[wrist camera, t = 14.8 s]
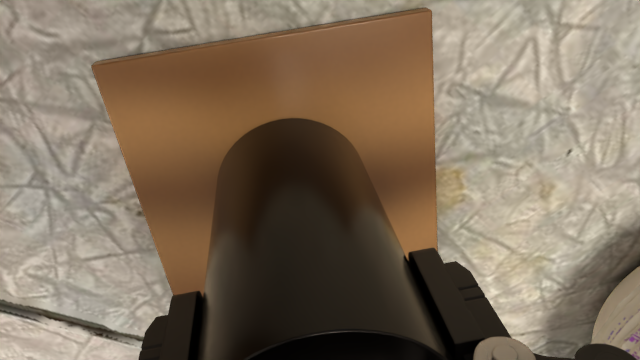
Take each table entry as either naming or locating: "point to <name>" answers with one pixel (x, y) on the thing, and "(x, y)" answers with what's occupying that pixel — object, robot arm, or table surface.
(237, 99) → the cork mat
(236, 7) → the table surface
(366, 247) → the black cylinder
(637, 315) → the paper bowls
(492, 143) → the table surface
